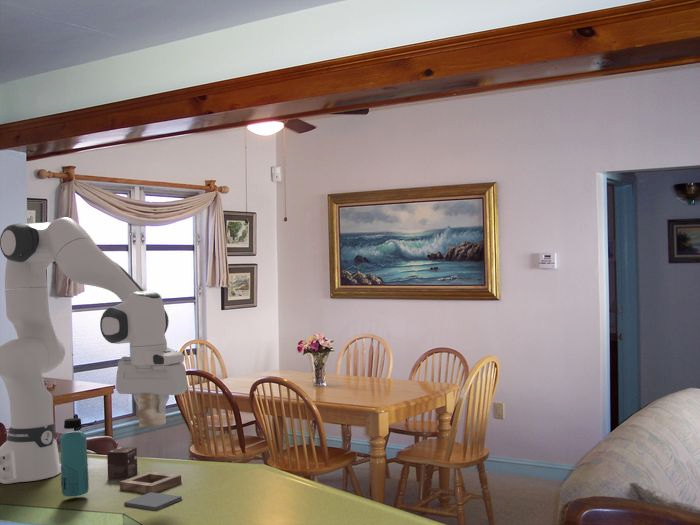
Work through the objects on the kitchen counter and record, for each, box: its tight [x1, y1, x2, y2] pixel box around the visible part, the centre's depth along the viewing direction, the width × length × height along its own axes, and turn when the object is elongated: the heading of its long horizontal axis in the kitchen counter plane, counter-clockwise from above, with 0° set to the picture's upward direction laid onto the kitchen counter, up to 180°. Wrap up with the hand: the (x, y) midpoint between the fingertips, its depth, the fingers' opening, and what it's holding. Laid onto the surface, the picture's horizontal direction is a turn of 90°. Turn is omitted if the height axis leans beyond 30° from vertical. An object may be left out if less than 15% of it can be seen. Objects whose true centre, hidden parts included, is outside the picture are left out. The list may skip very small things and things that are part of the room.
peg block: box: [137, 394, 167, 428], centre depth 187 cm, size 4×4×8 cm
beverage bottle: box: [59, 417, 90, 498], centre depth 188 cm, size 6×7×20 cm
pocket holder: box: [119, 470, 182, 494], centre depth 197 cm, size 11×11×2 cm
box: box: [106, 447, 138, 480], centre depth 209 cm, size 6×6×7 cm
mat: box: [123, 492, 183, 511], centre depth 182 cm, size 10×9×1 cm
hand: (152, 412), depth 187 cm, fingers closed on peg block, 4 cm apart
